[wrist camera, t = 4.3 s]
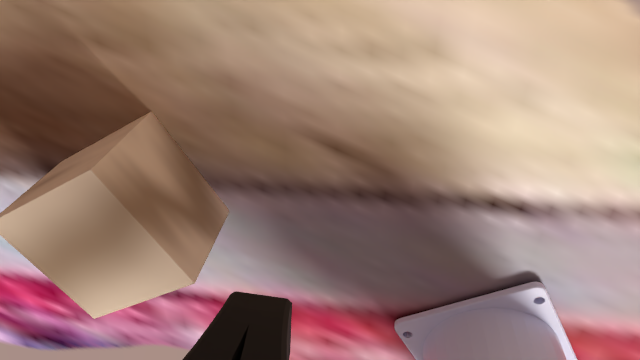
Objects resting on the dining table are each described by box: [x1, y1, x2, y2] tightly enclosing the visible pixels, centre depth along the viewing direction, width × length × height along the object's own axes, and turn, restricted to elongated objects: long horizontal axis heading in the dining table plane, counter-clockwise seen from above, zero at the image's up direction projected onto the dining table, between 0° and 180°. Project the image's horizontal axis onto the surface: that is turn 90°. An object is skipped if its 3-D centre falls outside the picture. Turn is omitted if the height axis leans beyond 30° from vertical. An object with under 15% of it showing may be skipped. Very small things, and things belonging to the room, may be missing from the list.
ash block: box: [0, 111, 229, 319], centre depth 20 cm, size 6×6×5 cm
